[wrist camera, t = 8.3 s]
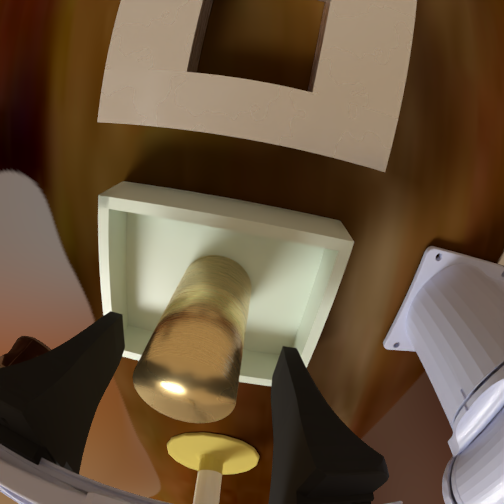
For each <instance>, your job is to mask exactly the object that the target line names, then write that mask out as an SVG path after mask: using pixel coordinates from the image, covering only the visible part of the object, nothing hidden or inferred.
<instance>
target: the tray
mask: <svg viewBox="0 0 504 504" xmlns="http://www.w3.org/2000/svg"><path fill="white" fill-rule="evenodd" d="M353 244H354V241H353V239H352V238H351V236H350V235H349V233H348V231H347V230H346V228H345V227H344V225H343V224H342V222H341V221H340V220H336V219H331V218H327V217H322V216H318V215H313V214H308V213H303V212H299V211H294V210H289V209H284V208H279V207H274V206H269V205H264V204H259V203H253V202H248V201H243V200H237V199H232V198H226V197H221V196H215V195H209V194H203V193H197V192H191V191H185V190H179V189H173V188H167V187H160V186H154V185H147V184H140V183H133V182H126V181H123V182H121V183H119V184H117V185H116V186H114V187H112V188H110V189H108V190H107V191H105V192H103V193H101V194H100V195H98V245H99V268H100V283H101V296H102V306H103V316H104V315H106V314H107V313H109V312H110V311H112V312H115V313H119V314H122V315H123V329H124V341H125V349H124V352H123V355H122V356H123V357H127V358H131V359H134V360H138V361H139V360H140V358H141V356H142V354H143V352H144V350H145V348H146V346H147V344H148V342H149V340H150V338H151V336H152V334H153V332H154V330H155V328H156V326H157V324H158V322H159V320H160V318H161V316H162V314H163V312H164V311H165V309H166V307H167V305H168V303H169V301H170V299H171V297H172V295H173V293H174V292H175V290H176V288H177V286H178V284H179V282H180V280H181V279H182V277H183V275H184V273H185V271H186V269H187V268H188V266H189V265H190V264H191V263H192V262H194V261H195V260H197V259H198V258H201V257H204V256H209V255H219V256H224V257H227V258H230V259H232V260H234V261H235V262H237V263H238V264H239V265H241V266H242V267H243V268H244V270H245V271H246V272H247V274H248V276H249V278H250V281H251V297H250V304H249V312H248V319H247V326H246V333H245V340H244V348H243V355H242V362H241V369H240V376H239V382H245V383H251V384H258V385H266V386H272V376H273V373H274V370H275V367H276V364H277V361H278V358H279V356H280V353H281V350H282V347H283V346H286V347H293V348H297V350H298V352H299V354H300V356H301V358H302V360H303V362H304V364H305V366H306V368H307V366H308V363H309V361H310V359H311V356H312V354H313V352H314V349H315V347H316V344H317V342H318V339H319V337H320V335H321V332H322V330H323V327H324V325H325V322H326V319H327V317H328V314H329V312H330V309H331V307H332V304H333V301H334V299H335V296H336V293H337V290H338V288H339V285H340V282H341V279H342V277H343V274H344V271H345V268H346V265H347V262H348V259H349V256H350V253H351V250H352V247H353Z"/></svg>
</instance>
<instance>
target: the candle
mask: <svg viewBox="0 0 504 504" xmlns="http://www.w3.org/2000/svg"><path fill="white" fill-rule="evenodd" d="M167 449H168V453H169V454H170V455H171V456H172V457H173V458H174V459H175V460H176V461H177V462H179V463H181V464H182V465H184V466H186V467H188V468H191V469H194V470H198V475H197V482H196V488H195V494H194V500H193V504H219V497H220V488H221V479H222V474H237V473H241V472H245V471H249V470H250V469H252V468H253V467H255V466H256V465H257V463H258V460H259V457H260V456H259V454H258V453H257V451H256V450H255V448H254V447H252V446H250V445H249V444H247V443H245V442H244V441H242V440H238V439H235V438H232V437H229V436H225V435H220V434H212V433H205V432H198V433H184V434H180V435H177V436H174V437H172V438H171V439H170V441H169V442H168V443H167Z"/></svg>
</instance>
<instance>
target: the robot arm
mask: <svg viewBox="0 0 504 504" xmlns="http://www.w3.org/2000/svg"><path fill="white" fill-rule="evenodd" d="M439 253H440V254H439ZM437 254H439V257H438V258H436V256H437ZM395 343H396V344H395ZM383 345H384V347H385V349H388V350H402V351H416V352H417V354H418V356H419V358H420V360H421V362H422V364H423V366H424V368H425V370H426V372H427V374H428V376H429V379H430V381H431V383H432V385H433V387H434V389H435V391H436V393H437V396H438V397H439V400H440V402H441V404H442V407H443V409H444V411H445V413H446V415H447V418H448V420H449V422H450V425H451V427H452V429H453V435H452V437H451V438H450V440H449V441H448V444H449V446H450V449H451V452H452V454H453V456H452V458H451V459H450V461H449V462H448V464H447V466H446V469H445V472H444V475H443V481H442V492H443V497H444V501H445V504H504V266H503V265H500V264H496V263H493V262H489V261H486V260H482V259H479V258H475V257H472V256H468V255H465V254H461V253H457V252H454V251H450V250H446V249H443V248H439V247H435V246H430V247H428V248H427V249H426V250H425V252H424V255H423V257H422V260H421V262H420V265H419V267H418V270H417V272H416V274H415V277H414V279H413V281H412V284H411V286H410V288H409V290H408V292H407V295H406V297H405V299H404V301H403V303H402V305H401V308H400V310H399V312H398V314H397V316H396V318H395V320H394V322H393V324H392V326H391V328H390V330H389V332H388V334H387V336H386V338H385V339H384V342H383ZM124 349H125V341H124V329H123V315H122V314H119V313H115V312H112V311H110V312H109V313H107V314H106V315H104V316H103V317H101V318H100V319H99V320H97V321H96V322H95V323H93V324H92V325H91V326H89V327H88V328H87V329H85V330H83V331H82V332H80V333H79V334H78V335H76V336H75V337H73V338H71V339H70V340H68V341H67V342H65V343H63V344H62V345H60V346H58V347H56V348H55V349H53V350H51V351H49V352H47V353H44V354H42V355H40V356H37V357H35V358H32V359H30V360H27V361H24V362H21V363H18V364H14V365H11V366H7V367H2V368H0V491H1V492H2V493H4V494H5V495H6V496H8V497H10V498H11V499H13V500H14V501H16V502H17V503H19V504H172V503H167V502H163V501H159V500H155V499H151V498H147V497H143V496H140V495H136V494H133V493H129V492H126V491H123V490H120V489H117V488H114V487H110V486H108V485H104V484H102V483H99V482H97V481H94V480H91V479H88V478H86V477H84V476H81V475H79V470H80V465H81V460H82V455H83V452H84V448H85V444H86V440H87V437H88V433H89V430H90V427H91V423H92V420H93V418H94V415H95V412H96V409H97V406H98V404H99V402H100V400H101V398H102V396H103V394H104V392H105V390H106V388H107V386H108V385H109V383H110V380H111V379H112V377H113V375H114V373H115V371H116V369H117V367H118V365H119V363H120V360H121V357H122V355H123V352H124ZM271 407H272V422H273V437H274V448H273V465H272V478H271V488H270V498H269V504H371V501H373V499H374V496H373V492H374V491H375V490H377V489H378V488H379V487H380V486H382V485H383V484H384V483H385V482H386V481H387V480H388V478H389V474H388V469H387V465H386V462H385V459H384V457H383V456H382V455H381V454H379V453H378V452H376V451H375V450H373V449H372V448H371V447H369V446H368V445H367V444H366V443H364V442H363V441H362V440H361V439H360V438H358V437H357V436H356V435H355V434H354V433H353V432H352V431H351V430H350V429H349V428H348V427H347V426H346V425H345V424H344V423H343V422H342V421H341V420H340V419H339V417H338V416H337V415H336V414H335V413H334V411H333V410H332V409H331V407H330V406H329V405H328V403H327V402H326V401H325V399H324V398H323V396H322V394H321V393H320V391H319V390H318V388H317V387H316V385H315V383H314V381H313V380H312V378H311V376H310V374H309V372H308V370H307V368H306V366H305V364H304V362H303V360H302V358H301V356H300V354H299V352H298V350H297V348H293V347H286V346H283V347H282V350H281V353H280V356H279V358H278V361H277V364H276V367H275V370H274V373H273V376H272V386H271ZM386 504H403V503H402V501H398V502H392V503H386Z"/></svg>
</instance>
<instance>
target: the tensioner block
mask: <svg viewBox="0 0 504 504" xmlns="http://www.w3.org/2000/svg"><path fill="white" fill-rule="evenodd" d="M319 1H323V2H325V6H324V11H323V16H322V21H321V26H320V31H319V36H318V41H317V46H316V51H315V56H314V61H313V66H312V71H311V76H310V81H309V86H308V91H304V90H300V89H295V88H291V87H286V86H281V85H276V84H271V83H266V82H260V81H255V80H249V79H242V78H236V77H229V76H221V75H213V74H204V73H197V69H198V64H199V60H200V55H201V50H202V45H203V41H204V36H205V32H206V28H207V24H208V19H209V15H210V11H211V7H212V3H213V0H121V2H120V6H119V10H118V13H117V17H116V21H115V25H114V29H113V33H112V37H111V42H110V46H109V51H108V56H107V61H106V67H105V72H104V78H103V84H102V90H101V97H100V105H99V112H98V121H97V122H104V123H121V124H134V125H146V126H157V127H166V128H175V129H183V130H191V131H199V132H206V133H213V134H219V135H225V136H232V137H237V138H243V139H249V140H254V141H260V142H265V143H270V144H275V145H280V146H284V147H289V148H294V149H298V150H303V151H307V152H311V153H316V154H320V155H324V156H328V157H332V158H336V159H340V160H343V161H347V162H351V163H354V164H358V165H362V166H365V167H369V168H372V169H375V170H379V171H382V172H385V171H386V167H387V163H388V159H389V155H390V151H391V147H392V143H393V139H394V135H395V131H396V126H397V122H398V117H399V113H400V108H401V103H402V98H403V93H404V88H405V83H406V77H407V72H408V66H409V60H410V53H411V47H412V39H413V32H414V24H415V15H416V5H417V0H319Z"/></svg>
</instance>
